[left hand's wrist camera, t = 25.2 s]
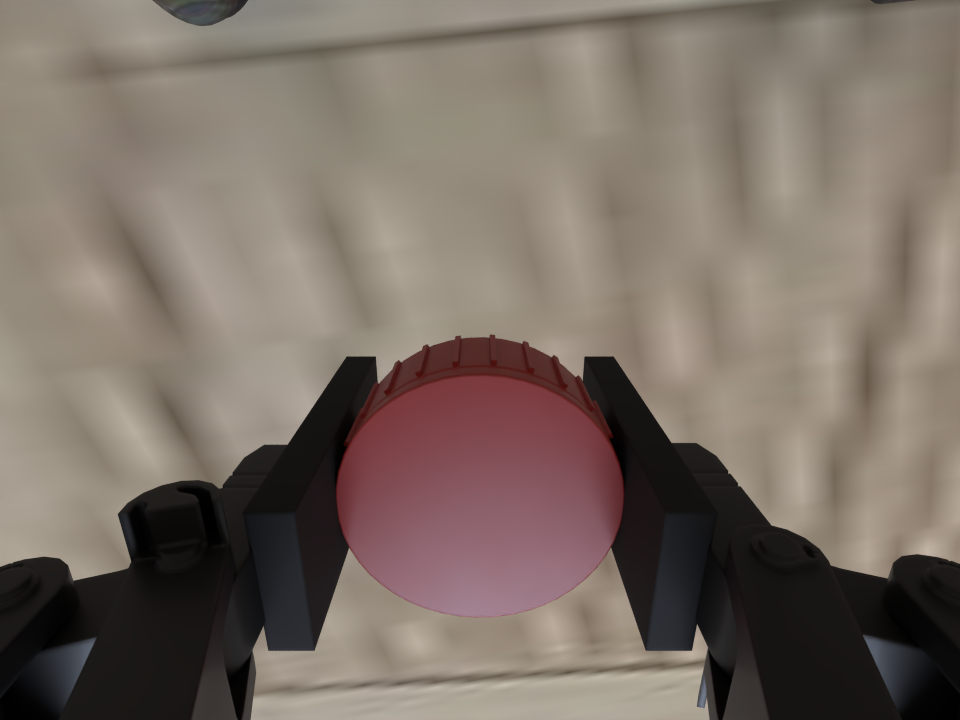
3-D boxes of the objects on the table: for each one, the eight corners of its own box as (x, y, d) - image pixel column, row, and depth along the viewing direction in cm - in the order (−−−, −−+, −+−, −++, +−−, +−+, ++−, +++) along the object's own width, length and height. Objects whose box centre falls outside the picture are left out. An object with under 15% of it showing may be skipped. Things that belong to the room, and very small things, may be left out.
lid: (377, 560, 13) (359, 630, 11) (332, 345, 11) (301, 384, 9) (606, 542, 13) (628, 610, 11) (602, 319, 11) (628, 355, 9)
